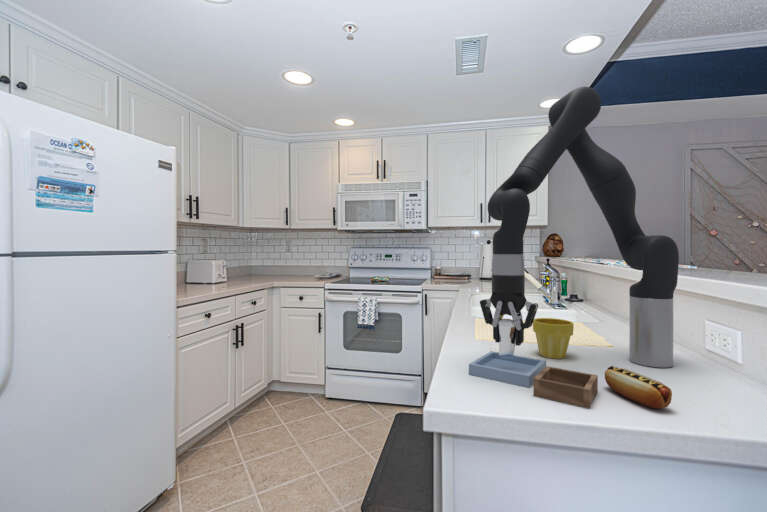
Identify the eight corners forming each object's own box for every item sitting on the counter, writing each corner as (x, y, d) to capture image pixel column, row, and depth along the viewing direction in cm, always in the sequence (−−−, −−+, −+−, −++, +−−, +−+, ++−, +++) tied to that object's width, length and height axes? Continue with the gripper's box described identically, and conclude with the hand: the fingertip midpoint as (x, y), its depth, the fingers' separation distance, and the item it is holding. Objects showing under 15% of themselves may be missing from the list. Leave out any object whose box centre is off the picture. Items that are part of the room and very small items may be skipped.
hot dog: (654, 415, 65) (654, 387, 64) (597, 388, 78) (597, 365, 78) (677, 413, 65) (677, 385, 65) (617, 386, 78) (617, 363, 78)
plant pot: (575, 353, 103) (575, 319, 103) (571, 363, 95) (571, 325, 95) (536, 348, 109) (536, 316, 109) (529, 357, 100) (529, 322, 100)
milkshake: (521, 360, 85) (523, 318, 84) (497, 358, 86) (499, 316, 85) (518, 354, 89) (520, 314, 89) (495, 352, 90) (497, 313, 90)
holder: (546, 381, 81) (546, 366, 81) (597, 392, 75) (597, 375, 75) (533, 395, 73) (533, 378, 73) (589, 408, 67) (589, 390, 67)
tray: (491, 360, 97) (491, 351, 97) (546, 370, 89) (546, 360, 89) (468, 374, 86) (468, 364, 86) (529, 387, 78) (529, 376, 78)
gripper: (543, 273, 86) (543, 344, 86) (485, 271, 95) (485, 336, 95) (534, 274, 80) (534, 351, 80) (473, 272, 89) (473, 342, 89)
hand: (508, 343), depth 88 cm, fingers closed on milkshake, 4 cm apart
